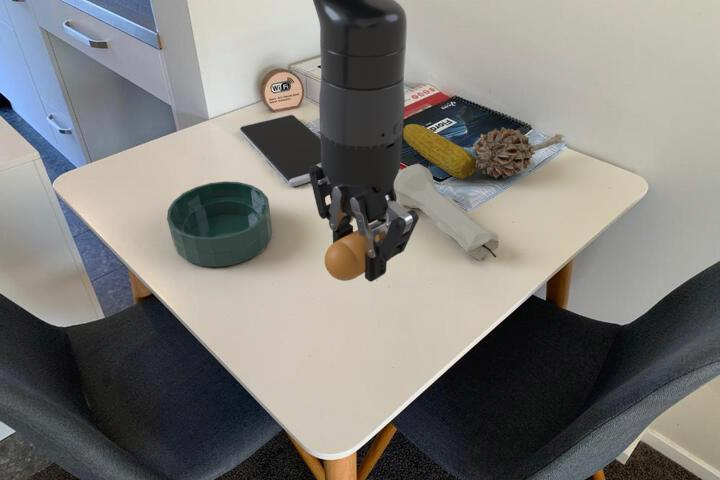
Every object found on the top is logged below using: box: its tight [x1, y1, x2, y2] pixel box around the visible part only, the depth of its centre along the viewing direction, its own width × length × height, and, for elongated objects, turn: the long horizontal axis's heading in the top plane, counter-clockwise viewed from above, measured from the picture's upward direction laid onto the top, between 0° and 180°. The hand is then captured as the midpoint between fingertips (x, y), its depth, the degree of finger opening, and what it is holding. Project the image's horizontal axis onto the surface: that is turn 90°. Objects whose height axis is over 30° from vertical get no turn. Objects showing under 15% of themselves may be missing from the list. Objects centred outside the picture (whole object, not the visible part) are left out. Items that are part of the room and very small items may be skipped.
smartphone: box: [239, 113, 321, 187], centre depth 111 cm, size 13×27×2 cm, turn 31°
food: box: [402, 123, 476, 180], centre depth 107 cm, size 21×6×6 cm, turn 33°
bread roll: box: [324, 229, 380, 282], centre depth 56 cm, size 8×4×4 cm, turn 133°
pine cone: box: [470, 126, 567, 179], centre depth 103 cm, size 22×10×10 cm, turn 121°
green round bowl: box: [166, 181, 273, 268], centre depth 86 cm, size 16×16×6 cm
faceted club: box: [394, 163, 500, 261], centre depth 88 cm, size 9×8×25 cm
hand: (358, 265), depth 58 cm, fingers closed on bread roll, 4 cm apart
